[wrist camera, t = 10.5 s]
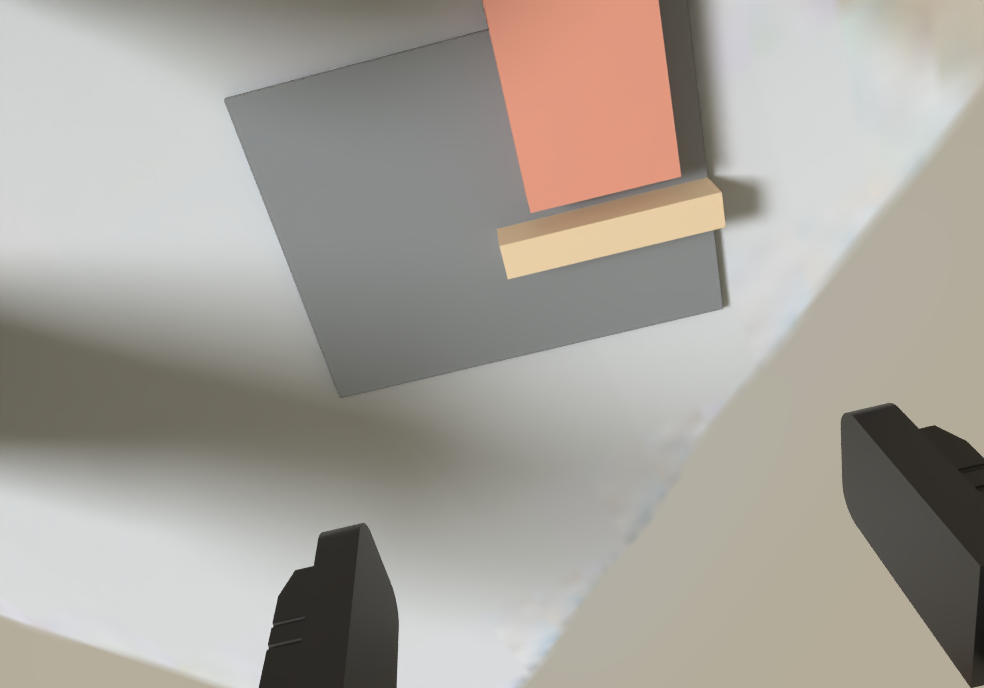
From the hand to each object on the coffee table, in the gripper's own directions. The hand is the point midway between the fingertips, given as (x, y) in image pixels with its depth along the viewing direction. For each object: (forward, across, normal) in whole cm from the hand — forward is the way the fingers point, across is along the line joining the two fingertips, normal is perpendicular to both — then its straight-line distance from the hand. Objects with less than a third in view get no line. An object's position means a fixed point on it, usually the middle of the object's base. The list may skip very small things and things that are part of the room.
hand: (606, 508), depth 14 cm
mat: (+22, +1, +2) cm, 23 cm away
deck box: (+21, -4, +2) cm, 21 cm away
